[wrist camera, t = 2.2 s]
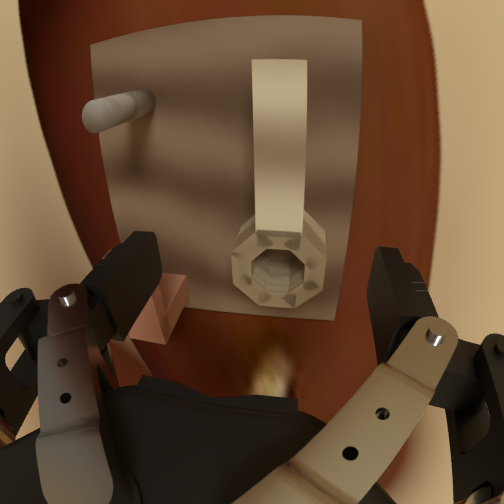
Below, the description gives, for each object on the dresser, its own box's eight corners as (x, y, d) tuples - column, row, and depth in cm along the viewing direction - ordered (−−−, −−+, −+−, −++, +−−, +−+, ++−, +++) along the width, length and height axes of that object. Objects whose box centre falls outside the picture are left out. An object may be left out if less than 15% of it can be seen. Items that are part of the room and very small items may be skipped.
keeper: (141, 217, 23) (102, 258, 18) (177, 218, 22) (143, 262, 18) (157, 290, 26) (129, 337, 22) (189, 294, 26) (166, 344, 21)
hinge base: (98, 44, 17) (36, 47, 11) (359, 22, 14) (383, 1, 9) (141, 293, 28) (110, 343, 23) (333, 312, 26) (335, 373, 20)
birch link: (319, 278, 23) (319, 310, 20) (243, 273, 24) (234, 303, 21) (333, 64, 15) (339, 61, 12) (235, 62, 16) (220, 60, 13)
